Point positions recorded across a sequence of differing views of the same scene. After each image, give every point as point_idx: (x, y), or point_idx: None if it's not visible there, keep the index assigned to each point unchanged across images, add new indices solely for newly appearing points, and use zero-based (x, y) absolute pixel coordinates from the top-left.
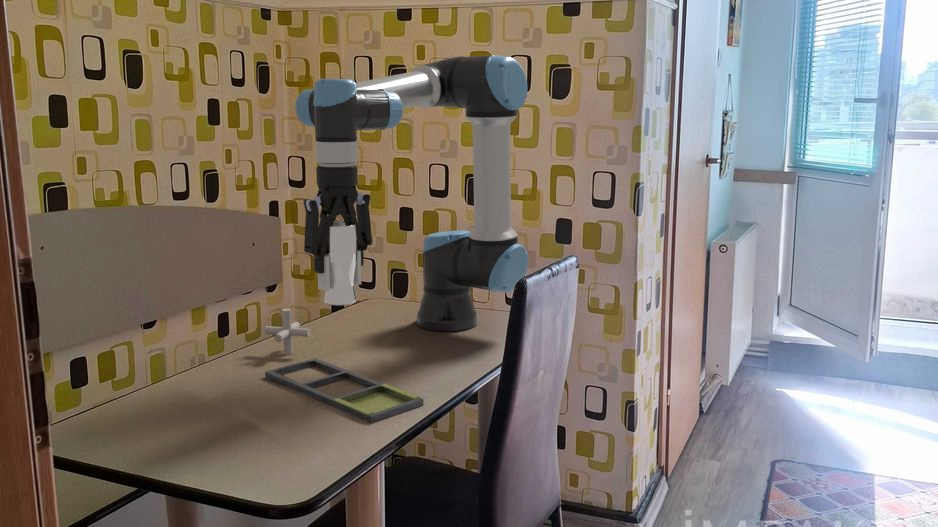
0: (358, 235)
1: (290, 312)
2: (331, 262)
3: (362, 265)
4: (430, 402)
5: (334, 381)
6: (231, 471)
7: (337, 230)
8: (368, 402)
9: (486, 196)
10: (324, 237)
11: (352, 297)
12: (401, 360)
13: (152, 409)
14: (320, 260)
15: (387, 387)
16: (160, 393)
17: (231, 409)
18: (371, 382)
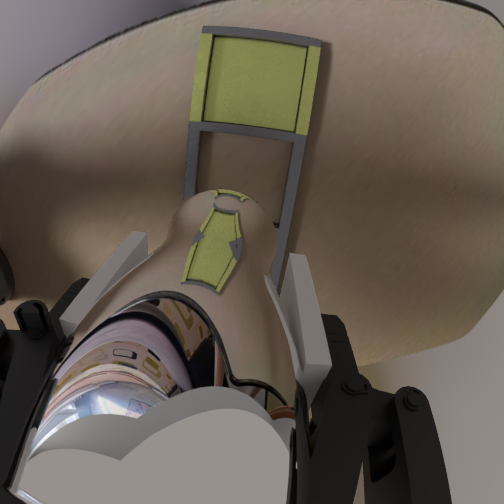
0: (21, 399)
1: None
2: (290, 329)
3: (84, 278)
4: (187, 29)
5: None
6: (500, 117)
7: None
8: (257, 98)
9: None
10: (352, 483)
11: (209, 198)
12: (84, 207)
13: (420, 314)
14: (344, 362)
15: (201, 103)
16: (379, 345)
17: (389, 250)
18: (198, 146)
